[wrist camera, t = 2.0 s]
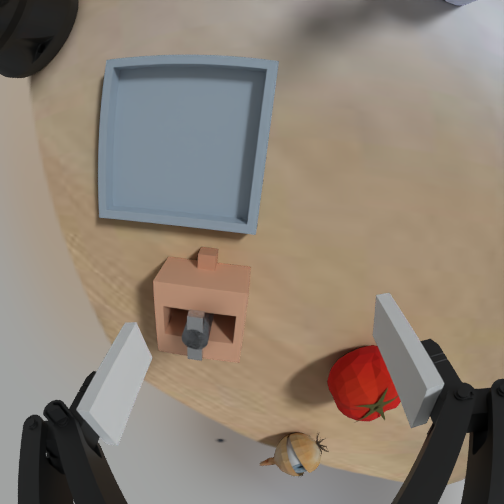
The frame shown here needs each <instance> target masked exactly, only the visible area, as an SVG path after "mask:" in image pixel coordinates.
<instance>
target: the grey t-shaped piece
mask: <svg viewBox="0 0 504 504" xmlns="http://www.w3.org/2000/svg"><path fill="white" fill-rule="evenodd" d="M213 317H214V313H207V312H205V311H198V310H191V309H189V312H188V315H187V322H186V325H185V328H184V331H183V334H182V341H183V343H184V344H185V345H186V346H187V354H188V359H194V360H201V361H202V358H203V352H204V348H205V347H206V346H207V344H208V340H209V335H210V331H211V326H212V322H213Z"/></svg>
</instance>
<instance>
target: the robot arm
mask: <svg viewBox="0 0 504 504" xmlns="http://www.w3.org/2000/svg"><path fill="white" fill-rule="evenodd" d="M77 10H78V0H0V74H1V75H3V76H5V77H10V78H11V77H12V78H24V77H28V76H31V75H33V74H35V73H36V72H38V71H39V70H41V69H42V68H43V67H44V66H46V65H47V64H48V63H49V62H50V61H51V60H52V58H53V57H54V56H55V55H56V54H57V52H58V51H59V50H60V48H61V47H62V45H63V44H64V42H65V41H66V39H67V37H68V35H69V33H70V31H71V29H72V27H73V24H74V22H75V19H76V15H77ZM373 337H374V339H375V341H376V344H377V346H378V348H379V350H380V353H381V355H382V357H383V360H384V362H385V364H386V367H387V369H388V371H389V374H390V376H391V378H392V381H393V383H394V386H395V388H396V391H397V393H398V395H399V398H400V401H401V403H402V406H403V408H404V411H405V413H406V416H407V419H408V421H409V424H410V427H411V428H413V427H416V426H419V425H423V424H426V423H427V421H428V419H429V417H431V419H432V421H433V424H432V426H431V427H430V429H429V431H428V433H427V437H426V439H425V442H424V444H423V446H422V448H421V450H420V452H419V454H418V457H417V459H416V461H415V463H414V464H413V466H412V468H411V470H410V472H409V474H408V476H407V478H406V480H405V481H404V483H403V485H402V487H401V488H400V490H399V492H398V494H397V495H396V497H395V498H394V500H393V502H392V503H391V504H438V502H439V500H440V498H441V496H442V493H443V492H444V489H445V487H446V485H447V483H448V480H449V478H450V476H451V473H452V471H453V468H454V466H455V463H456V461H457V458H458V455H459V453H460V450H461V447H462V444H463V441H464V438H465V435H466V433H470V437H469V451H468V461H467V470H466V478H465V485H464V491H463V496H462V502H461V504H504V379H498V380H496V381H495V382H494V383H493V385H492V386H491V388H483V389H474V388H473V387H472V386H471V385H470V384H467V383H463V382H462V381H461V380H460V378H459V377H458V375H457V373H456V372H455V370H454V369H453V367H452V365H451V364H450V362H449V360H447V357H446V356H445V354H443V351H442V349H441V348H440V346H439V345H438V344H437V343H436V342H434V341H433V340H431V339H428V340H424V341H420V340H419V339H418V337H417V335H416V334H415V332H414V330H413V329H412V327H411V326H410V324H409V322H408V321H407V319H406V318H405V316H404V315H403V313H402V311H401V310H400V308H399V307H398V305H397V304H396V302H395V301H394V299H393V298H392V296H391V295H390V293H385V294H380V295H376V304H375V317H374V328H373ZM151 360H152V356H151V354H150V352H149V350H148V347H147V345H146V343H145V341H144V339H143V336H142V334H141V332H140V329H139V327H138V325H137V322H132V323H125V324H124V326H123V327H122V329H121V331H120V332H119V334H118V336H117V337H116V339H115V341H114V342H113V344H112V346H111V348H110V349H109V351H108V353H107V354H106V356H105V358H104V360H103V361H102V363H101V365H100V367H99V368H98V370H97V372H95V371H93V372H92V373H91V374H90V375H89V376H88V377H87V378H86V379H85V381H84V383H83V386H82V387H81V388H80V390H79V392H78V394H77V396H76V397H75V399H74V401H73V403H72V405H71V406H70V408H69V409H68V407H67V406H66V405H65V404H64V402H62V401H61V400H55V401H52V402H50V403H49V404H48V405H47V406H46V407H45V409H44V412H43V415H44V416H45V417H46V418H47V419H48V421H43V419H42V418H41V417H40V416H38V415H32V416H30V417H28V418H27V419H26V421H25V422H24V425H23V432H22V439H21V449H20V459H19V475H18V504H74V503H73V500H74V502H75V504H127V502H126V500H125V498H124V496H123V494H122V492H121V490H120V488H119V486H118V484H117V482H116V480H115V478H114V476H113V474H112V472H111V469H110V467H109V465H108V463H107V460H106V458H105V456H104V453H103V451H102V448H101V446H100V445H99V443H98V440H99V437H100V438H101V439H102V440H103V441H104V443H106V444H110V445H116V446H118V445H119V442H120V439H121V436H122V434H123V431H124V428H125V426H126V423H127V420H128V418H129V415H130V412H131V410H132V407H133V404H134V402H135V399H136V397H137V394H138V392H139V389H140V387H141V384H142V382H143V379H144V377H145V375H146V372H147V370H148V367H149V365H150V362H151ZM46 453H47V456H46Z"/></svg>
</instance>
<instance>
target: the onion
mask: <svg viewBox="0 0 504 504" xmlns="http://www.w3.org/2000/svg"><path fill="white" fill-rule="evenodd" d="M317 434H318V433H317ZM318 435H319V434H318ZM322 440H324V439H322ZM320 442H321V441H319V442H318V436H317V440H316V441H315V440H313V439H312V438H311V437H309V436H308V435H305V434H303V433H294V434H290V435H288V436H286V437H284V438H283V439H282V440H281V441H280V443H279V444H278V446H277V448H276V451H275V454H274V457H273V458H268V459H267V460H265V461H263V462H261V463H260V465H261V466H264V465H274V464H276V465H277V466H278V467H279V468H280V470H281V471H283V472H285V473H287V474H289V475H292V476H301V475H302V476H303V473H304V472H306V471H308V472H309V473H310V472H312V471H314V470H315V469H316V468H317V467H318V465H319V464H320V459H321V456H320V451H321V449H322V450H323V447H325V446H323V445H320V444H319V443H320ZM321 446H323V447H321ZM320 448H321V449H320ZM326 448H327V446H326ZM327 449H328V448H327ZM324 451H325V449H324ZM326 452H329V451H327V450H326ZM321 454H322V451H321Z"/></svg>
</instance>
